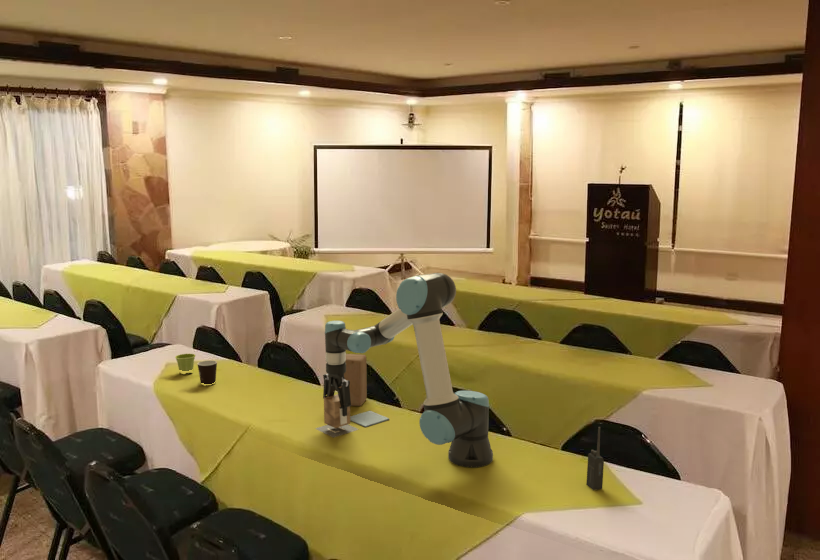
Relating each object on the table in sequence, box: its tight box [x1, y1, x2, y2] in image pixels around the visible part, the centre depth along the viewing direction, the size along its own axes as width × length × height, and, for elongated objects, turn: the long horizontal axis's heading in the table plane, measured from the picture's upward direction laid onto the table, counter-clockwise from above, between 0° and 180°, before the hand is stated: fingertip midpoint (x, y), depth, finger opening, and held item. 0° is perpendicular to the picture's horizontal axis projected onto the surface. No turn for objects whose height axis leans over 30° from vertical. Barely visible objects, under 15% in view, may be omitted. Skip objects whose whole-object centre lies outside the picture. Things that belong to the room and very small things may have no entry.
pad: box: [350, 410, 390, 428], centre depth 263 cm, size 12×12×1 cm
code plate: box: [314, 424, 360, 438], centre depth 253 cm, size 12×12×1 cm
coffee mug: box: [196, 359, 218, 384], centre depth 308 cm, size 12×9×10 cm
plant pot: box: [174, 353, 196, 371], centre depth 323 cm, size 9×9×9 cm
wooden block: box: [339, 353, 368, 407], centre depth 281 cm, size 10×10×20 cm
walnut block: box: [323, 393, 351, 428], centre depth 251 cm, size 7×7×10 cm
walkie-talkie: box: [585, 426, 605, 491], centre depth 205 cm, size 5×3×20 cm
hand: (337, 420), depth 252 cm, fingers closed on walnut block, 7 cm apart
